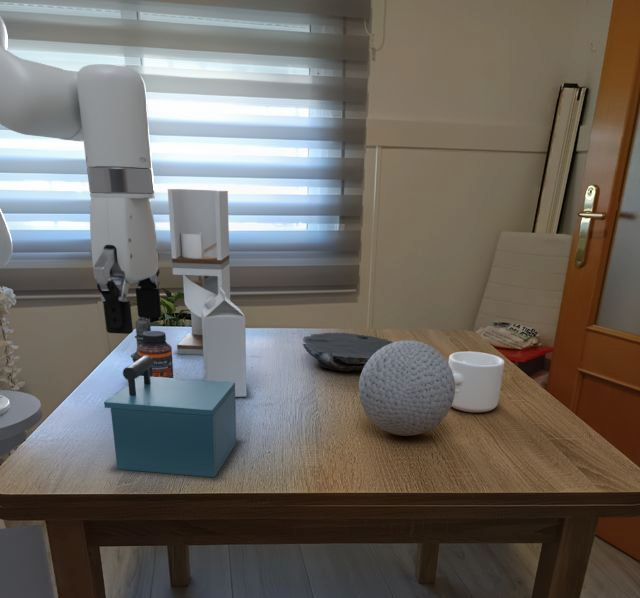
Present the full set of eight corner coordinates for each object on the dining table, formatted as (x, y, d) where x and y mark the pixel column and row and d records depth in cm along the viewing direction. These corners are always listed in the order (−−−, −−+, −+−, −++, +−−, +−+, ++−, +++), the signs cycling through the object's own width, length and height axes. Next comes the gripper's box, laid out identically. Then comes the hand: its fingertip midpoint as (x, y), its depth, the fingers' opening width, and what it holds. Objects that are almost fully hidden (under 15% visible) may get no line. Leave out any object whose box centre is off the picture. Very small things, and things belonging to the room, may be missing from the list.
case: (117, 469, 78) (110, 408, 74) (150, 435, 88) (145, 381, 85) (214, 477, 77) (212, 416, 73) (236, 442, 87) (235, 387, 84)
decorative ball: (360, 411, 101) (366, 327, 95) (446, 419, 99) (457, 334, 93) (351, 446, 88) (357, 350, 82) (451, 456, 85) (464, 358, 80)
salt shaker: (146, 377, 115) (141, 318, 110) (125, 372, 117) (120, 314, 113) (167, 370, 119) (163, 313, 115) (147, 365, 122) (142, 309, 117)
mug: (425, 395, 111) (430, 349, 107) (472, 391, 114) (478, 347, 110) (457, 417, 100) (464, 367, 97) (507, 413, 103) (516, 364, 100)
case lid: (104, 407, 75) (100, 372, 73) (140, 380, 85) (137, 349, 83) (212, 416, 73) (210, 380, 71) (235, 387, 84) (234, 355, 82)
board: (354, 347, 143) (356, 327, 141) (419, 369, 127) (422, 346, 125) (281, 359, 130) (281, 337, 128) (343, 386, 114) (344, 361, 112)
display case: (188, 341, 142) (180, 189, 129) (231, 343, 142) (227, 190, 129) (177, 353, 132) (167, 189, 118) (223, 355, 132) (219, 191, 119)
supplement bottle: (155, 400, 103) (150, 338, 99) (134, 393, 106) (128, 332, 102) (181, 392, 107) (177, 333, 103) (160, 385, 111) (156, 327, 106)
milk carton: (241, 385, 112) (239, 286, 105) (246, 397, 106) (245, 293, 99) (204, 387, 111) (200, 287, 103) (207, 399, 104) (203, 294, 97)
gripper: (122, 185, 78) (135, 311, 85) (54, 183, 62) (76, 338, 69) (175, 186, 77) (184, 313, 84) (120, 184, 61) (136, 341, 68)
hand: (135, 324), depth 76 cm, fingers open, 9 cm apart
